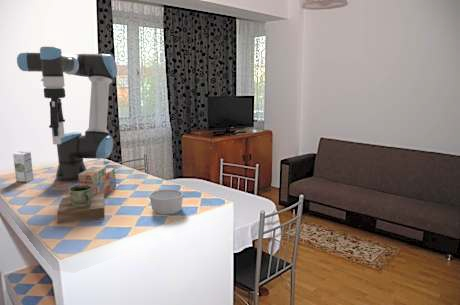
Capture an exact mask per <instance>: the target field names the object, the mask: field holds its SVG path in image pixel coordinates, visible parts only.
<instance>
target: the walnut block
mask: <svg viewBox="0 0 460 305" xmlns="http://www.w3.org/2000/svg"><path fill="white" fill-rule="evenodd" d="M91 200H92V203H91V204H88V205H85V206H73V205H72V201H71V200H70V198H69V197H61V199H60V202H59V206H58V209H57V211H56V212H57V213H56V214H57V223H58V224H67V223H77V222H86V221H94V220H104V219H105V214H106V213H105V208H106V207H105V205H106V204H105V195H104V194H99V195H93V198H92V199H91Z"/></svg>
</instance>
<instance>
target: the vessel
mask: <svg viewBox="0 0 460 305" xmlns="http://www.w3.org/2000/svg"><path fill="white" fill-rule="evenodd" d="M92 187H93V186H92V185H88V184H80V185H79V184H75V185H72V186H70V187H69V188H68V191H69V198H70V200H71V201H72V205H73V206H85V205H88V204H91V203H92V200H91V199H92V198H93V191H92Z"/></svg>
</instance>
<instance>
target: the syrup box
mask: <svg viewBox="0 0 460 305" xmlns="http://www.w3.org/2000/svg"><path fill="white" fill-rule="evenodd" d="M12 157H13V165H14V172H15V180H16V182H20V183H21V182H22V183H28V182H30V181H33V180H34V179H35V178H34V170H33V169H34V168H33V163H32V152H31V151H22V150H21V151H16V152H14V153H12Z"/></svg>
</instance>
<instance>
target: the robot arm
mask: <svg viewBox="0 0 460 305" xmlns="http://www.w3.org/2000/svg"><path fill="white" fill-rule="evenodd" d="M16 64H17V67H18V68H19V69H20V70H21V71H22V72H37V73H38V72H39V73H41V75H42V78H41V79H40V81H41V82H42V83H43V84H42V85H43V87H44V88H43V97H44V98H45V99H50V101H48V103H49V112H50V113H49V115H50V116H49V117H50V125H48V127H49V128H50V129H51V134H52V136H51V137H52V144H53V145H56V148H57V160H58V166H57V169H56V174H55V179H56V181H59V182H67V183H68V182H69V183H70V182H76V181H78V182H79V177H78V174H80V173H82V172H84V171H86V170H87V169H88V168H87V166H86V165H85V162H84V159H94V160H95V159H97V160H100V159H104V160H105V159H108V158H109V157H110V156H111V154H112V151H113V148H114V140H113V136H111V135H110V132H109V130H108V129H107V128H108V127H107V126H108V113H109V112H108V109H109V91H110V85H111V83H113V79H114V78H117V75H118V66H117V62H116V60H115V57H114V55H112V54H110V53H109V54H108V53H107V54H106V53H77V54H71V53H68V52H64V53H63V52H62V48H61V47H59V46H41V47H40V48H39V52H20V53H18V55H17V57H16ZM64 74H67V75H72V76H78V77H83V78H84V77H86V78H88V81H90V82H91V83H90V84H91V85H90V86H91V87H90V102H89V104H90V105H89V117H88V128H87V129H86V130H85V131H84V135H82V132H81V131H75V132H74V131H73V132H67V133H65V127H64V123H65V122H66V119H64V113H63V104H62V99H63V98H64V99H65V98H66V88H64V87H65V85H66V84H65V76H64Z"/></svg>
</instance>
